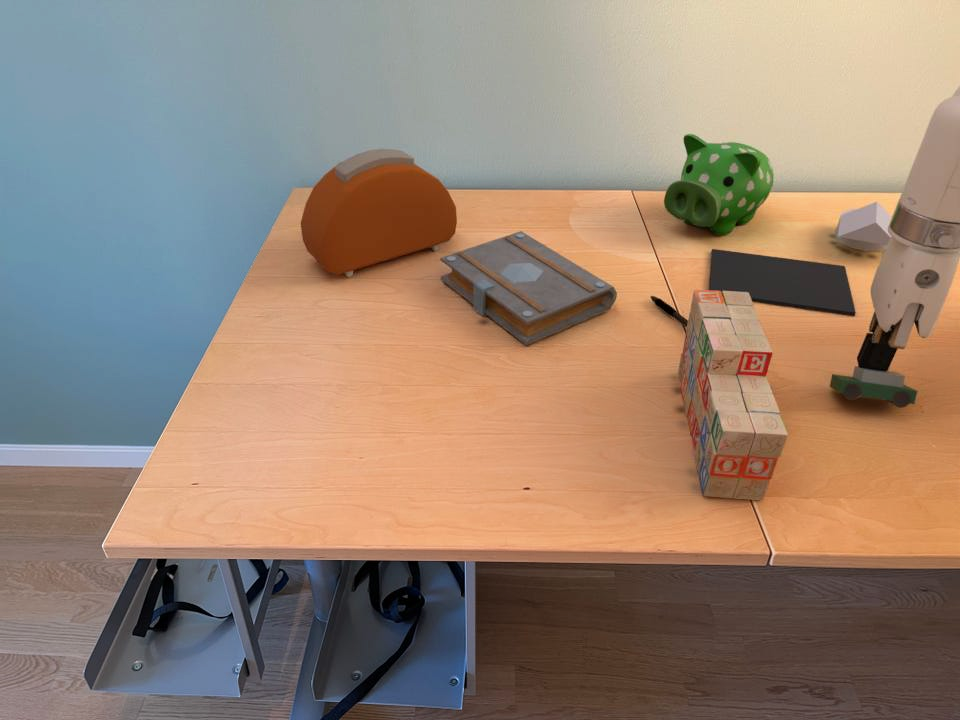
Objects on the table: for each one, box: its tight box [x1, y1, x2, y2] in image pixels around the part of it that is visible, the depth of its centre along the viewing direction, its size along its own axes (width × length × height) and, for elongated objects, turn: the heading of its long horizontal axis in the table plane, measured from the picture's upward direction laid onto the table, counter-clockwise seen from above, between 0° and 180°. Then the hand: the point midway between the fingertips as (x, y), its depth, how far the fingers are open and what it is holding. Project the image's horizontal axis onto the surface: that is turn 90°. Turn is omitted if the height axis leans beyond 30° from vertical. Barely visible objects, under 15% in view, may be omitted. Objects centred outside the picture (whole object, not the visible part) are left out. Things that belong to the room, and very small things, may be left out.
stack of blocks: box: [677, 289, 789, 501], centre depth 76 cm, size 21×6×12 cm, turn 174°
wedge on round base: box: [834, 201, 893, 253], centre depth 114 cm, size 9×7×13 cm
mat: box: [708, 248, 857, 317], centre depth 106 cm, size 20×14×1 cm
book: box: [439, 230, 618, 346], centre depth 101 cm, size 21×16×5 cm
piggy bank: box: [663, 133, 775, 237], centre depth 118 cm, size 14×18×15 cm
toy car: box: [829, 365, 918, 409], centre depth 82 cm, size 8×4×4 cm
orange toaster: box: [300, 148, 458, 278], centre depth 108 cm, size 23×9×17 cm, turn 123°
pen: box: [650, 295, 688, 328], centre depth 96 cm, size 14×2×1 cm, turn 26°
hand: (871, 365), depth 83 cm, fingers closed
